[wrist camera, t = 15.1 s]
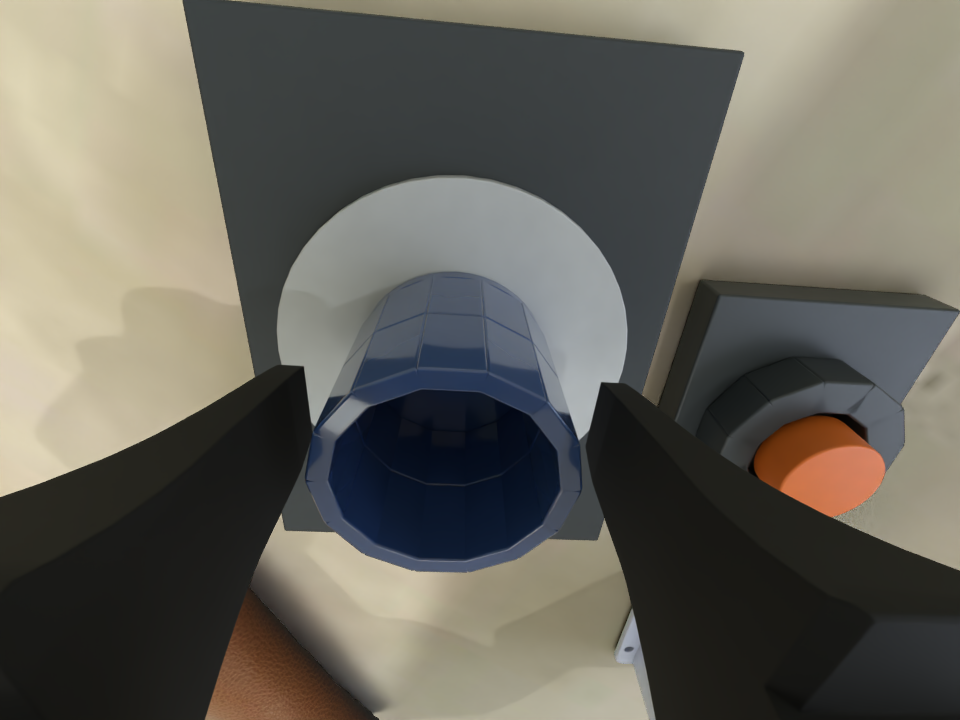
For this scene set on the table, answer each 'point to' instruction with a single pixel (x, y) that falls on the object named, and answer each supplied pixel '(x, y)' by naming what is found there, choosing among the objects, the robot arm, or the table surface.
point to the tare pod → (799, 363)
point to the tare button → (820, 464)
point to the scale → (454, 184)
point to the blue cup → (446, 431)
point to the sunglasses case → (275, 676)
